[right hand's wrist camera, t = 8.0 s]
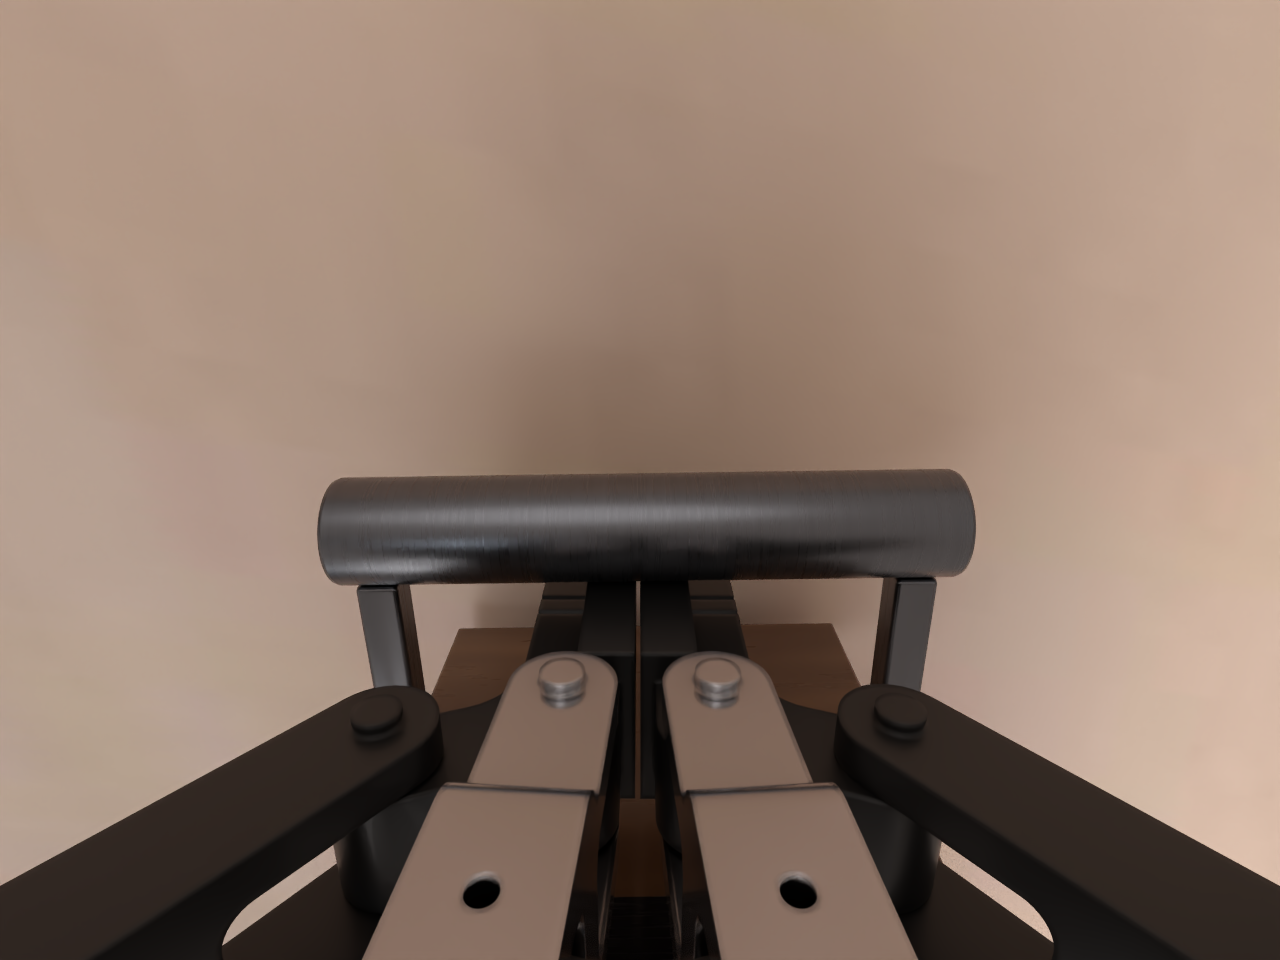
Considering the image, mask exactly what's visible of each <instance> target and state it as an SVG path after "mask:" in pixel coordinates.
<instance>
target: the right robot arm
mask: <svg viewBox="0 0 1280 960" xmlns="http://www.w3.org/2000/svg"><path fill="white" fill-rule="evenodd" d="M635 745H636V581H618V582H547V583H546V584H545V588H544V591H543V595H542V600H541V603H540V607H539V614H538V615H537V619H536V623H535V626H534V630H533V634H532V638H531V642H530V646H529V650H528V654H527V658H526V662H525V663H523V664H522V665H520V666H519V667H518V668H517V669H516V670H515V671H514V672H513V673H512V674H511V676H510V678H509V680H508V682H507V685H506V687H505V690H504V692H503V693H502V694H500V695H498V696H497V697H494V698H492V699H490V700H488V701H485V702H483V703H480V704H477V705H473V706H469V707H465V708H460V709H456V710H451V711H447V712H442V713H440V711H439V706H438V703H437V701H436V700H435V699H434V697H433V696H431V695H430V694H429V693H427V692H425V691H423V690H421V689H418V688H415V687H410V686H399V685H393V686H383V687H377V688H372V689H369V690H365V691H362V692H359V693H357V694H354V695H352V696H350V697H348V698H346V699H344V700H342V701H340V702H338V703H337V704H335V705H333V706H331V707H329V708H327V709H325V710H324V711H322V712H320V713H318V714H316V715H314V716H313V717H311V718H309V719H307V720H305V721H303V722H302V723H300V724H298V725H296V726H294V727H292V728H290V729H289V730H287V731H285V732H283V733H281V734H279V735H278V736H276V737H274V738H272V739H270V740H268V741H267V742H265V743H263V744H261V745H259V746H257V747H255V748H254V749H252V750H250V751H248V752H246V753H244V754H243V755H241V756H239V757H237V758H235V759H233V760H232V761H230V762H228V763H226V764H224V765H222V766H220V767H219V768H217V769H215V770H213V771H211V772H209V773H208V774H206V775H204V776H202V777H200V778H198V779H197V780H195V781H193V782H191V783H189V784H187V785H185V786H184V787H182V788H180V789H178V790H176V791H174V792H173V793H171V794H169V795H167V796H165V797H163V798H162V799H160V800H158V801H156V802H154V803H152V804H150V805H149V806H147V807H145V808H143V809H141V810H139V811H138V812H136V813H134V814H132V815H130V816H128V817H127V818H125V819H123V820H121V821H119V822H117V823H115V824H114V825H112V826H110V827H108V828H106V829H104V830H103V831H101V832H99V833H97V834H95V835H93V836H91V837H90V838H88V839H86V840H84V841H82V842H80V843H79V844H77V845H75V846H73V847H71V848H69V849H68V850H66V851H64V852H62V853H60V854H58V855H56V856H55V857H53V858H51V859H49V860H47V861H45V862H44V863H42V864H40V865H38V866H36V867H34V868H33V869H31V870H29V871H27V872H25V873H23V874H21V875H20V876H18V877H16V878H14V879H12V880H10V881H9V882H7V883H5V884H3V885H1V886H0V960H607V951H608V943H609V935H610V927H611V918H612V910H613V902H614V894H615V886H616V877H617V869H618V861H619V853H620V834H619V813H620V799H635ZM640 799H655V812H656V824H657V827H658V830H659V832H660V834H661V836H660V852H661V861H662V869H663V877H664V885H665V894H666V902H667V910H668V918H669V927H670V935H671V943H672V951H673V959H674V960H1280V886H1279V885H1277V884H1275V883H1273V882H1271V881H1270V880H1268V879H1266V878H1264V877H1262V876H1260V875H1258V874H1257V873H1255V872H1253V871H1251V870H1249V869H1247V868H1246V867H1244V866H1242V865H1240V864H1238V863H1236V862H1235V861H1233V860H1231V859H1229V858H1227V857H1225V856H1223V855H1222V854H1220V853H1218V852H1216V851H1214V850H1212V849H1211V848H1209V847H1207V846H1205V845H1203V844H1201V843H1200V842H1198V841H1196V840H1194V839H1192V838H1190V837H1188V836H1187V835H1185V834H1183V833H1181V832H1179V831H1177V830H1176V829H1174V828H1172V827H1170V826H1168V825H1166V824H1165V823H1163V822H1161V821H1159V820H1157V819H1155V818H1153V817H1152V816H1150V815H1148V814H1146V813H1144V812H1142V811H1141V810H1139V809H1137V808H1135V807H1133V806H1131V805H1130V804H1128V803H1126V802H1124V801H1122V800H1120V799H1118V798H1117V797H1115V796H1113V795H1111V794H1109V793H1107V792H1106V791H1104V790H1102V789H1100V788H1098V787H1096V786H1095V785H1093V784H1091V783H1089V782H1087V781H1085V780H1083V779H1082V778H1080V777H1078V776H1076V775H1074V774H1072V773H1071V772H1069V771H1067V770H1065V769H1063V768H1061V767H1060V766H1058V765H1056V764H1054V763H1052V762H1050V761H1048V760H1047V759H1045V758H1043V757H1041V756H1039V755H1037V754H1036V753H1034V752H1032V751H1030V750H1028V749H1026V748H1024V747H1023V746H1021V745H1019V744H1017V743H1015V742H1013V741H1012V740H1010V739H1008V738H1006V737H1004V736H1002V735H1001V734H999V733H997V732H995V731H993V730H991V729H989V728H988V727H986V726H984V725H982V724H980V723H978V722H977V721H975V720H973V719H971V718H969V717H967V716H966V715H964V714H962V713H960V712H958V711H956V710H954V709H953V708H951V707H949V706H947V705H945V704H943V703H942V702H940V701H938V700H936V699H934V698H932V697H930V696H928V695H926V694H924V693H922V692H919V691H916V690H914V689H910V688H907V687H903V686H897V685H891V684H871V685H864V686H861V687H858V688H855V689H853V690H851V691H849V692H848V693H847V694H845V695H844V696H843V698H842V699H841V700H840V703H839V705H838V712H837V714H836V713H832V712H827V711H822V710H818V709H813V708H809V707H805V706H801V705H797V704H794V703H791V702H789V701H786V700H784V699H782V698H780V697H778V695H777V692H776V690H775V687H774V685H773V682H772V680H771V678H770V676H769V674H768V673H767V672H766V671H765V670H764V669H763V668H762V667H761V666H760V665H758V664H757V663H755V662H754V661H752V660H750V659H749V656H748V652H747V648H746V644H745V640H744V636H743V632H742V628H741V624H740V620H739V616H738V614H737V607H736V603H735V600H734V595H733V591H732V587H731V583H730V580H688V581H640ZM941 842H943V843H945V844H946V845H948V846H949V847H951V848H952V849H953V850H955V851H956V852H958V853H959V854H961V855H962V856H963V857H965V858H966V859H968V860H969V861H971V862H972V863H974V864H975V865H976V866H978V867H979V868H981V869H982V870H984V871H985V872H986V873H988V874H989V875H991V876H992V877H994V878H995V879H996V880H998V881H999V882H1001V883H1002V884H1004V885H1005V886H1006V887H1008V888H1009V889H1011V890H1012V891H1014V892H1015V893H1017V894H1018V895H1019V896H1021V897H1022V898H1023V899H1025V900H1026V901H1027V902H1028V903H1029V904H1030V905H1032V906H1033V907H1034V908H1035V910H1036V911H1037V912H1038V913H1039V914H1040V915H1041V917H1042V918H1043V920H1044V921H1045V923H1046V924H1047V926H1048V928H1049V930H1050V932H1051V935H1052V938H1053V942H1054V943H1053V942H1051V941H1050V940H1049V939H1047V938H1046V937H1044V936H1043V935H1042V934H1040V933H1039V932H1037V931H1036V930H1035V929H1033V928H1032V927H1030V926H1029V925H1028V924H1026V923H1025V922H1024V921H1022V920H1021V919H1019V918H1018V917H1017V916H1015V915H1014V914H1012V913H1011V912H1010V911H1008V910H1007V909H1006V908H1004V907H1003V906H1001V905H1000V904H999V903H997V902H996V901H994V900H993V899H992V898H990V897H989V896H987V895H986V894H985V893H983V892H982V891H981V890H979V889H978V888H976V887H975V886H974V885H972V884H971V883H969V882H968V881H967V880H965V879H964V878H963V877H961V876H960V875H958V874H957V873H956V872H954V871H953V870H951V869H950V868H949V867H947V866H946V865H944V864H943V863H942V862H940V861H939V860H938V858H939V853H940V848H941ZM332 845H334V850H335V855H336V860H337V864H335V865H334V866H333V867H331V868H330V869H329V870H327V871H326V872H324V873H323V874H322V875H320V876H319V877H317V878H316V879H315V880H313V881H312V882H311V883H309V884H308V885H306V886H305V887H304V888H302V889H301V890H299V891H298V892H297V893H295V894H294V895H292V896H291V897H290V898H288V899H287V900H286V901H284V902H283V903H281V904H280V905H279V906H277V907H276V908H274V909H273V910H272V911H270V912H269V913H268V914H266V915H265V916H263V917H262V918H261V919H259V920H258V921H256V922H255V923H254V924H252V925H251V926H249V927H248V928H247V929H245V930H244V931H243V932H241V933H240V934H238V935H237V936H236V937H234V938H233V939H231V940H230V941H229V942H227V943H226V944H224V945H223V946H222V944H223V940H224V937H225V935H226V932H227V930H228V929H229V927H230V925H231V924H232V922H233V921H234V919H235V918H236V917H237V916H238V914H239V913H240V912H241V911H242V910H243V909H244V908H245V907H246V906H247V905H248V904H250V903H251V902H252V901H254V900H255V899H256V898H258V897H259V896H261V895H262V894H263V893H265V892H266V891H268V890H269V889H271V888H272V887H273V886H275V885H276V884H278V883H279V882H281V881H282V880H284V879H285V878H286V877H288V876H289V875H291V874H292V873H294V872H295V871H296V870H298V869H299V868H301V867H302V866H304V865H305V864H306V863H308V862H309V861H311V860H312V859H314V858H315V857H317V856H318V855H319V854H321V853H322V852H324V851H325V850H327V849H328V848H329V847H331V846H332Z"/></svg>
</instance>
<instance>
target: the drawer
mask: <svg viewBox="0 0 1280 960" xmlns="http://www.w3.org/2000/svg"><path fill="white" fill-rule="evenodd" d="M975 534H976V521H975V511H974V505H973V500H972V497H971V494H970V491H969V488H968V486H967V484H966V482H965V480H964V479H963V478H962V476H961V475H960V474H958V473H957V472H955V471H953V470H950V469H918V470H848V471H778V472H708V473H638V474H567V475H497V476H427V477H357V478H340V479H338V480H335V481H334V482H333V483H331V485H330V486H329V487H328V489H327V490H326V492H325V494H324V497H323V499H322V503H321V506H320V511H319V517H318V528H317V539H318V550H319V556H320V560H321V564H322V567H323V569H324V572H325V573H326V575H327V577H328V578H329V579H330V580H331V581H332V582H334V583H336V584H338V585H359V586H358V588H357V596H358V602H359V607H360V613H361V618H362V624H363V630H364V635H365V641H366V646H367V652H368V658H369V663H370V669H371V674H372V680H373V686H374V688H377V687H383V686H393V685H399V686H410V687H415V688H418V689H421V690H423V691H425V685H424V679H423V672H422V665H421V658H420V651H419V645H418V638H417V631H416V624H415V618H414V611H413V604H412V597H411V590H410V584H477V583H547V582H618V581H688V580H758V579H829V578H883V586H882V594H881V603H880V611H879V619H878V627H877V635H876V643H875V651H874V659H873V667H872V675H871V683H870V685H871V684H891V685H897V686H903V687H907V688H910V689H914V690H916V691H919V692H920V689H921V683H922V677H923V670H924V664H925V657H926V651H927V644H928V638H929V632H930V625H931V619H932V612H933V606H934V599H935V593H936V586H937V581H936V579H935V578H934V577H953V576H956V575H959V574H960V573H962V572H963V571H964V570H965V569H966V568H967V566H968V564H969V562H970V560H971V557H972V554H973V549H974V544H975ZM741 628H742V632H743V636H744V640H745V644H746V648H747V652H748V656H749V659H750V660H752V661H754V662H755V663H757V664H758V665H760V666H761V667H762V668H763V669H764V670H765V671H766V672H767V673H768V674H769V676H770V678H771V680H772V682H773V685H774V687H775V690H776V692H777V695H778V697H780V698H782V699H784V700H786V701H789V702H791V703H794V704H797V705H801V706H805V707H809V708H813V709H818V710H822V711H827V712H832V713H836V714H837V712H838V705H839V703H840V700H841V699H842V698H843V696H844V695H845V694H847V693H848V692H849V691H851V690H853V689H855V688H858V687H861V686H860V684H859V681H858V679H857V677H856V675H855V673H854V671H853V669H852V666H851V664H850V662H849V660H848V658H847V656H846V653H845V651H844V649H843V647H842V645H841V643H840V641H839V638H838V636H837V634H836V632H835V630H834V628H833V625H832V624H830V623H820V624H749V625H741ZM533 630H534V628H468V629H459V630H458V633H457V635H456V638H455V640H454V643H453V645H452V647H451V650H450V652H449V655H448V657H447V659H446V662H445V664H444V667H443V669H442V671H441V674H440V676H439V679H438V681H437V683H436V686H435V688H434V691H433V693H432V695H431V696H433V697H434V699H435V700H436V701H437V703H438V706H439V711H440V713H442V712H447V711H451V710H456V709H460V708H465V707H469V706H473V705H477V704H480V703H483V702H485V701H488V700H490V699H492V698H494V697H497V696H498V695H500V694H502V693H503V692H504V690H505V687H506V685H507V682H508V680H509V678H510V676H511V674H512V673H513V672H514V671H515V670H516V669H517V668H518V667H519V666H520V665H522V664H523V663H525V662H526V658H527V654H528V650H529V646H530V642H531V638H532V634H533ZM619 834H620V853H619V861H618V869H617V877H616V886H615V894H614V902H613V910H612V918H611V927H610V935H609V943H608V951H607V960H674V959H673V951H672V943H671V935H670V927H669V918H668V910H667V902H666V894H665V885H664V877H663V869H662V861H661V852H660V836H661V834H660V832H659V830H658V827H657V824H656V812H655V799H640V626H636V745H635V799H620V813H619ZM938 860H939V861H940V862H942V860H941V858H940V856H939V858H938ZM942 863H943V862H942Z"/></svg>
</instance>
